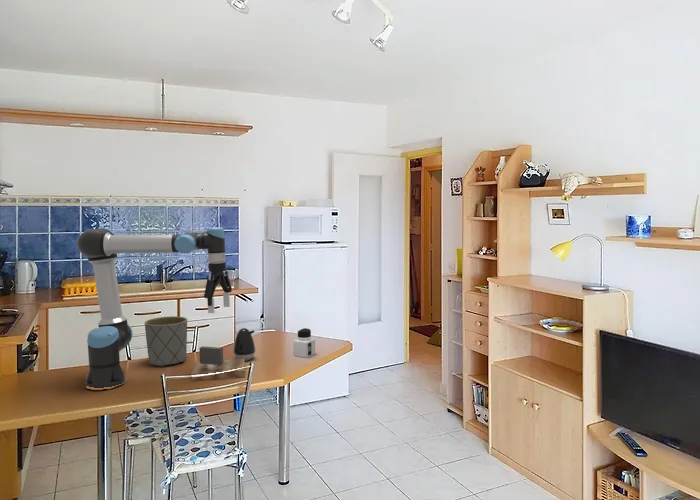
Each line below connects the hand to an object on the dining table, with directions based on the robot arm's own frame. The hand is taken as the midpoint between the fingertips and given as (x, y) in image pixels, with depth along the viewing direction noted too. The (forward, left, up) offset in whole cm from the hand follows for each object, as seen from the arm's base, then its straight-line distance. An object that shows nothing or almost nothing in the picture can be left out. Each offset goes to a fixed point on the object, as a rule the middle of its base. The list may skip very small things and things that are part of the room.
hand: (219, 309), depth 237 cm
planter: (-26, +19, -28) cm, 43 cm away
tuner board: (-1, -3, -28) cm, 28 cm away
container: (+39, +16, -28) cm, 51 cm away
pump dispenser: (+10, +15, -28) cm, 34 cm away
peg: (-2, -3, -25) cm, 25 cm away
